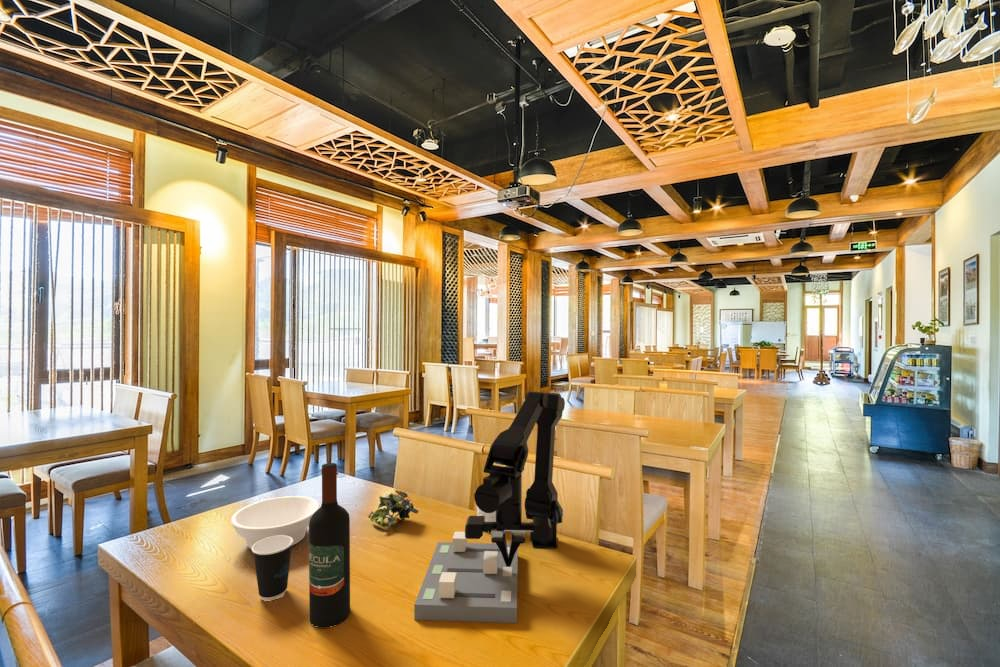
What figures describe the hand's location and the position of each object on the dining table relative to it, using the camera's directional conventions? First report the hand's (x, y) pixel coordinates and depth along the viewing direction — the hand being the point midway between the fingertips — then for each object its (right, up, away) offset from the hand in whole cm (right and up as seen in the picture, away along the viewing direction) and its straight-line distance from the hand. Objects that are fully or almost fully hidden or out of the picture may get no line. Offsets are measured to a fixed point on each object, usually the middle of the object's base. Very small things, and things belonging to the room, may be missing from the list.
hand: (508, 565), depth 99 cm
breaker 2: (-12, -1, +10) cm, 15 cm away
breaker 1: (-12, -1, -8) cm, 15 cm away
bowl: (-61, -4, +20) cm, 64 cm away
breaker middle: (-4, -1, 0) cm, 4 cm away
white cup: (-5, -4, +28) cm, 29 cm away
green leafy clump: (-33, -4, +30) cm, 44 cm away
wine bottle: (-36, -5, -10) cm, 37 cm away
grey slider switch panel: (-8, -4, +1) cm, 9 cm away
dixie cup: (-50, -5, -4) cm, 51 cm away
